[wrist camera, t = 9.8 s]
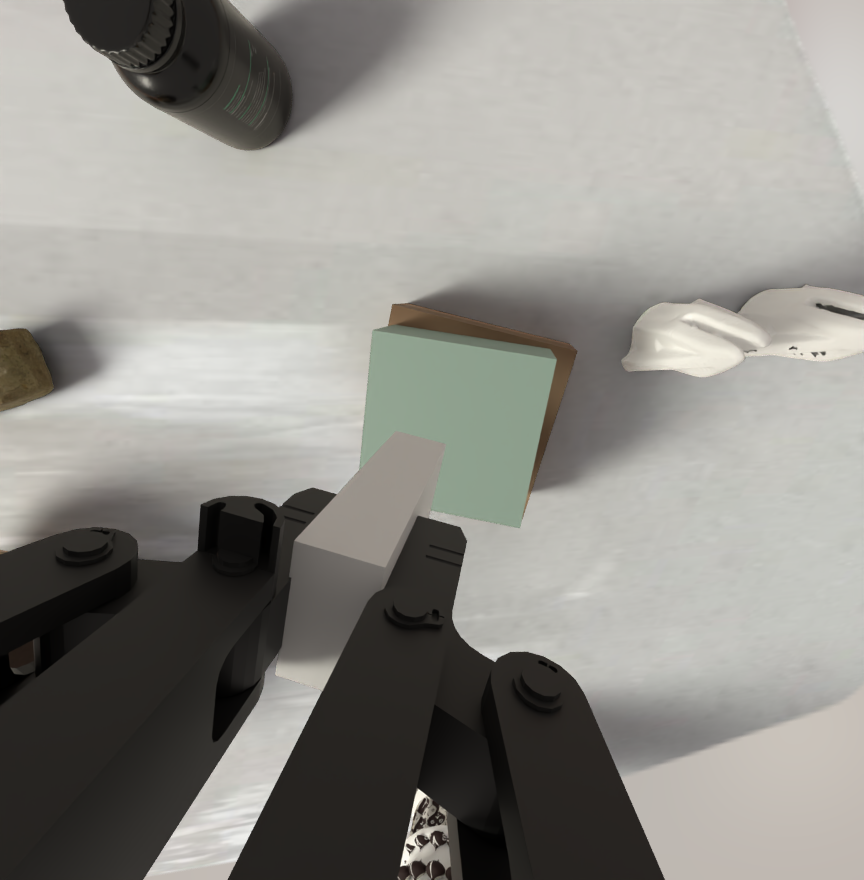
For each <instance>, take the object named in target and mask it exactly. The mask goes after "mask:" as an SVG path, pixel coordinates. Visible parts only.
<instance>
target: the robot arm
mask: <svg viewBox="0 0 864 880" xmlns="http://www.w3.org/2000/svg"><path fill="white" fill-rule="evenodd" d="M445 448H446V444H444V443H440V442H436V441H433V440H429V439H425V438H421V437H417V436H414V435H410V434H406V433H402V432H398V431H395V432H394V433H393V435H392V436H391V437H390V438H389V439H388V440H387V441H386V442H385V443H384V444H383V445H382V446H381V447H380V449H379V450H378V451H377V452H376V453H375V454H374V455H373V456H372V457H371V458H370V459H369V460H368V462H367V463H366V464H365V465H364V466H363V467H362V468H361V469H360V470H359V471H358V472H357V473H356V474H355V476H354V477H353V478H352V479H351V480H350V481H349V482H348V483H347V484H346V485H345V486H344V487H343V489H342V490H341V491H340V492H339V493H338V494H334V493H330V492H327V491H323V490H319V489H316V488H310V489H307V490H304V491H301V492H298V493H296V494H294V495H293V496H291V497H290V498H289V499H288V500H287V501H286V502H284V503H283V505H282V506H280V507H277V506H276V505H275V504H273V503H271V502H268V501H266V500H263V499H259V498H254V497H248V496H227V497H222V498H216V499H212V500H210V501H208V502H206V503H203V504H201V508H200V522H199V537H198V550H197V551H196V552H195V553H194V554H192V555H191V556H190V557H189V558H187V559H186V560H185V561H184V562H167V561H154V560H141V559H138V546H137V540H135V539H134V538H133V537H132V536H131V535H130V534H128V533H126V532H123V531H120V530H117V529H109V528H102V527H92V528H85V529H76V530H72V531H68V532H64V533H60V534H57V535H54V536H51V537H48V538H45V539H43V540H40V541H37V542H34V543H31V544H29V545H26V546H23V547H20V548H17V549H14V550H12V551H9V552H6V553H3V554H0V880H143V879H144V877H145V876H146V874H147V873H148V871H149V870H150V868H151V867H152V865H153V863H154V862H155V860H156V859H157V857H158V856H159V854H160V853H161V851H162V849H163V848H164V846H165V845H166V843H167V842H168V840H169V839H170V837H171V835H172V834H173V832H174V831H175V829H176V828H177V826H178V825H179V823H180V821H181V820H182V818H183V817H184V815H185V814H186V812H187V811H188V809H189V807H190V806H191V804H192V803H193V801H194V800H195V798H196V797H197V795H198V793H199V792H200V790H201V789H202V787H203V786H204V784H205V783H206V781H207V779H208V778H209V776H210V775H211V773H212V772H213V770H214V769H215V767H216V765H217V764H218V762H219V761H220V759H221V758H222V756H223V755H224V753H225V752H226V750H227V748H228V747H229V745H230V744H231V742H232V741H233V739H234V738H235V736H236V734H237V733H238V731H239V730H240V728H241V727H242V725H243V724H244V722H245V720H246V719H247V717H248V716H249V714H250V713H251V711H252V710H253V708H254V706H255V705H256V703H257V702H258V700H259V697H260V695H261V692H262V689H263V683H264V676H265V671H266V669H267V668H268V666H269V665H270V663H271V662H272V661H273V659H274V658H275V656H276V655H277V653H278V658H277V666H276V673H275V675H276V676H279V677H282V678H285V679H288V680H291V681H294V682H298V683H301V684H304V685H307V686H310V687H313V688H316V689H319V690H322V693H321V695H320V697H319V699H318V701H317V703H316V705H315V707H314V709H313V711H312V713H311V715H310V717H309V719H308V721H307V723H306V725H305V727H304V729H303V731H302V733H301V735H300V737H299V739H298V741H297V743H296V745H295V747H294V749H293V751H292V753H291V755H290V757H289V759H288V761H287V763H286V765H285V767H284V769H283V771H282V773H281V775H280V777H279V779H278V781H277V782H276V784H275V786H274V788H273V790H272V792H271V794H270V796H269V798H268V800H267V802H266V804H265V806H264V808H263V810H262V812H261V814H260V816H259V818H258V820H257V822H256V824H255V826H254V828H253V830H252V832H251V834H250V836H249V838H248V840H247V842H246V844H245V846H244V848H243V850H242V852H241V854H240V856H239V858H238V860H237V862H236V864H235V866H234V868H233V870H232V872H231V874H230V876H229V878H228V880H397V879H398V875H399V870H400V865H401V860H402V856H403V851H404V846H405V841H406V836H407V832H408V827H409V822H410V818H411V813H412V808H413V803H414V799H415V794H416V789H417V788H418V789H419V790H420V791H422V792H423V793H424V794H426V795H427V796H428V797H430V798H431V799H432V800H433V801H435V802H436V803H437V804H439V805H440V806H441V807H443V808H444V809H445V810H446V811H447V827H448V839H449V852H450V864H451V876H452V880H665V879H664V877H663V874H662V872H661V870H660V868H659V865H658V863H657V860H656V858H655V856H654V853H653V851H652V849H651V847H650V844H649V842H648V840H647V837H646V835H645V833H644V830H643V828H642V826H641V823H640V821H639V819H638V817H637V814H636V812H635V810H634V807H633V805H632V803H631V800H630V798H629V796H628V793H627V791H626V789H625V786H624V784H623V782H622V780H621V777H620V775H619V773H618V770H617V768H616V766H615V763H614V761H613V759H612V756H611V754H610V752H609V749H608V747H607V745H606V743H605V740H604V738H603V736H602V733H601V731H600V729H599V726H598V724H597V722H596V719H595V717H594V715H593V713H592V710H591V708H590V706H589V703H588V701H587V699H586V696H585V694H584V693H583V691H582V689H581V688H580V686H579V685H578V683H577V682H576V680H575V679H574V678H573V677H572V676H571V675H570V674H569V673H568V672H567V671H566V670H564V669H563V668H562V667H561V666H560V665H558V664H556V663H554V662H553V661H551V660H549V659H547V658H545V657H544V656H540V655H536V654H533V653H529V652H510V653H508V654H506V655H503V656H501V657H499V658H498V659H497V661H496V662H494V661H492V660H490V659H489V658H487V657H485V656H484V655H482V654H480V653H479V652H477V651H476V650H475V649H473V648H472V647H470V646H469V645H468V644H467V643H466V642H465V641H464V640H463V639H462V638H461V637H460V635H459V634H458V632H457V630H456V629H455V627H454V624H453V620H452V610H453V605H454V600H455V595H456V591H457V586H458V581H459V576H460V572H461V567H462V562H463V558H464V553H465V548H466V543H467V540H466V538H465V536H464V534H463V532H462V530H461V528H460V527H457V526H454V525H450V524H446V523H443V522H439V521H436V520H432V519H429V514H430V510H431V506H432V502H433V498H434V494H435V489H436V485H437V481H438V477H439V473H440V469H441V464H442V460H443V456H444V452H445ZM32 640H33V648H34V661H33V662H31V663H29V664H26V665H23V666H21V667H18V668H10V663H9V652H11V651H13V650H15V649H17V648H19V647H21V646H22V645H24V644H26V643H28V642H30V641H32Z"/></svg>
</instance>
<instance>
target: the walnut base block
mask: <svg viewBox="0 0 864 880" xmlns="http://www.w3.org/2000/svg"><path fill="white" fill-rule="evenodd" d="M391 325H400V326H407V327H413V328H420V329H426V330H432V331H439V332H445V333H452V334H458V335H464V336H471V337H477V338H484V339H490V340H496V341H503V342H509V343H516V344H522V345H528V346H535V347H541V348H548V349H551V351H552V352H553V354H554V356H555V357H556V359H557V361H556V366H555V370H554V375H553V379H552V384H551V388H550V393H549V398H548V402H547V407H546V411H545V416H544V420H543V425H542V430H541V434H540V439H539V443H538V448H537V452H536V457H535V462H534V466H533V471H532V475H531V480H530V484H529V489H528V494H527V498H526V503H525V507H524V512H525V509H526V506H527V503H528V500H529V497H530V494H531V491H532V488H533V485H534V482H535V479H536V476H537V473H538V470H539V467H540V464H541V461H542V458H543V455H544V451H545V448H546V445H547V442H548V439H549V436H550V433H551V430H552V427H553V424H554V421H555V418H556V415H557V412H558V409H559V406H560V403H561V400H562V397H563V394H564V391H565V388H566V385H567V382H568V379H569V375H570V372H571V369H572V366H573V363H574V360H575V357H576V354H577V350H576V349H575V348H574V347H573V346H571V345H570V344H568V343H564V342H560V341H556V340H552V339H548V338H544V337H540V336H536V335H532V334H528V333H524V332H520V331H516V330H512V329H508V328H504V327H500V326H496V325H492V324H488V323H484V322H480V321H476V320H472V319H469V318H465V317H461V316H457V315H453V314H449V313H445V312H441V311H437V310H433V309H429V308H425V307H421V306H417V305H413V304H409V303H405V304H392V309H391V314H390V319H389V324H388V326H391ZM524 512H523V515H524ZM522 518H523V516H522Z"/></svg>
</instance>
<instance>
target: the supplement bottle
mask: <svg viewBox="0 0 864 880" xmlns="http://www.w3.org/2000/svg"><path fill="white" fill-rule="evenodd" d="M63 1H64V3H65V10H66V12H67V13H68V15H69V19H70V22H71V23H72V24H73V25H74V27H75V30H76V32H77V33H78V34H79V35H81V37H82V39H83V40H84V41H85V42H86V43H87V44H89V45H90V46H91V47H92V48H93V49H94V50H96V51H97V52H99V53H101V54H102V55H104V56H106V57H107V58H108V59H110V60H111V61H112V63H113V65H114V67H115V69H116V71H117V72H118V74H119V75H120V77H121V78H122V80H123V81H124V82H125V84H126V85H127V86H128V87H129V88H130V89H131V90H132V91H133V92H134V93H135V94H136V95H137V96H138V97H140V98H141V99H142V100H144V101H145V102H147V103H149V104H150V105H152V106H153V107H155V108H157V109H159V110H161V111H163V112H165V113H167V114H169V115H171V116H172V117H174V118H176V119H178V120H180V121H182V122H184V123H186V124H188V125H190V126H192V127H194V128H195V129H197V130H199V131H201V132H203V133H205V134H207V135H209V136H211V137H213V138H215V139H217V140H219V141H220V142H223V143H225V144H227V145H229V146H231V147H234V148H236V149H240V150H257V149H261V148H263V147H266V146H267V145H269V144H271V143H272V142H273V141H274V140H276V139H277V137H278V136H279V135H280V134H281V133H282V131H283V130H284V128H285V126H286V124H287V122H288V119H289V116H290V112H291V107H292V86H291V81H290V77H289V73H288V71H287V68H286V66H285V64H284V62H283V60H282V58H281V56H280V55H279V54H278V52H277V51H276V50H275V49H274V47H273V46H272V45H271V44H270V43H269V42H268V41H267V40H266V39H265V38H264V37H263V35H262V34H261V33H260V32H259V31H258V30H257V29H256V28H255V27H254V26H253V25H252V24H251V23H250V22H249V21H248V20H247V19H246V18H245V17H244V16H243V15H242V14H241V13H240V12H239V11H238V10H237V9H236V8H235V7H234V6H233V5H232V4H231V3H230V2H229V1H228V0H63Z"/></svg>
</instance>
